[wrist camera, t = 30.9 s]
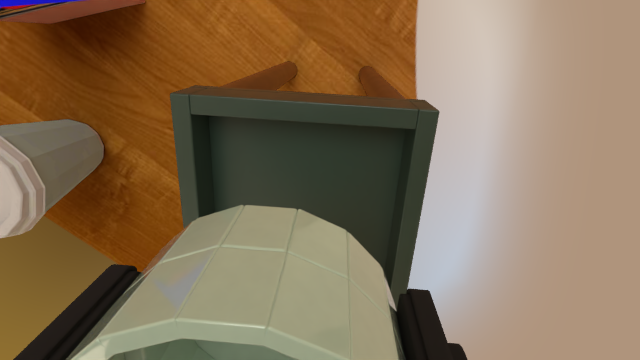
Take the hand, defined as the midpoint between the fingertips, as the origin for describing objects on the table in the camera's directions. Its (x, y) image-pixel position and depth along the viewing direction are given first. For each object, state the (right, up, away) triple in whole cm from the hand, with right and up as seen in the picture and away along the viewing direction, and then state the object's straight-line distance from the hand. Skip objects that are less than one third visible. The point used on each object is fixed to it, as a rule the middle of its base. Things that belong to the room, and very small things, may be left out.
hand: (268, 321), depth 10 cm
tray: (+2, +8, +32) cm, 33 cm away
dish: (0, 0, +1) cm, 1 cm away
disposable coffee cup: (-28, +8, +34) cm, 45 cm away
